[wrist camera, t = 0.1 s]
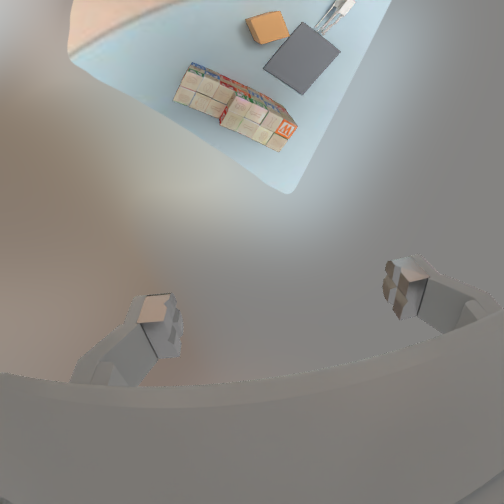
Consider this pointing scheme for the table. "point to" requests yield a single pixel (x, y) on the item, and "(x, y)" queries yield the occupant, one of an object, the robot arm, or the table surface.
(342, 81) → the table surface
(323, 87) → the table surface
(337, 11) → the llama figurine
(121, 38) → the table surface
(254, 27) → the orange block
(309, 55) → the slate mat
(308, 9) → the table surface
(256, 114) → the stack of blocks
